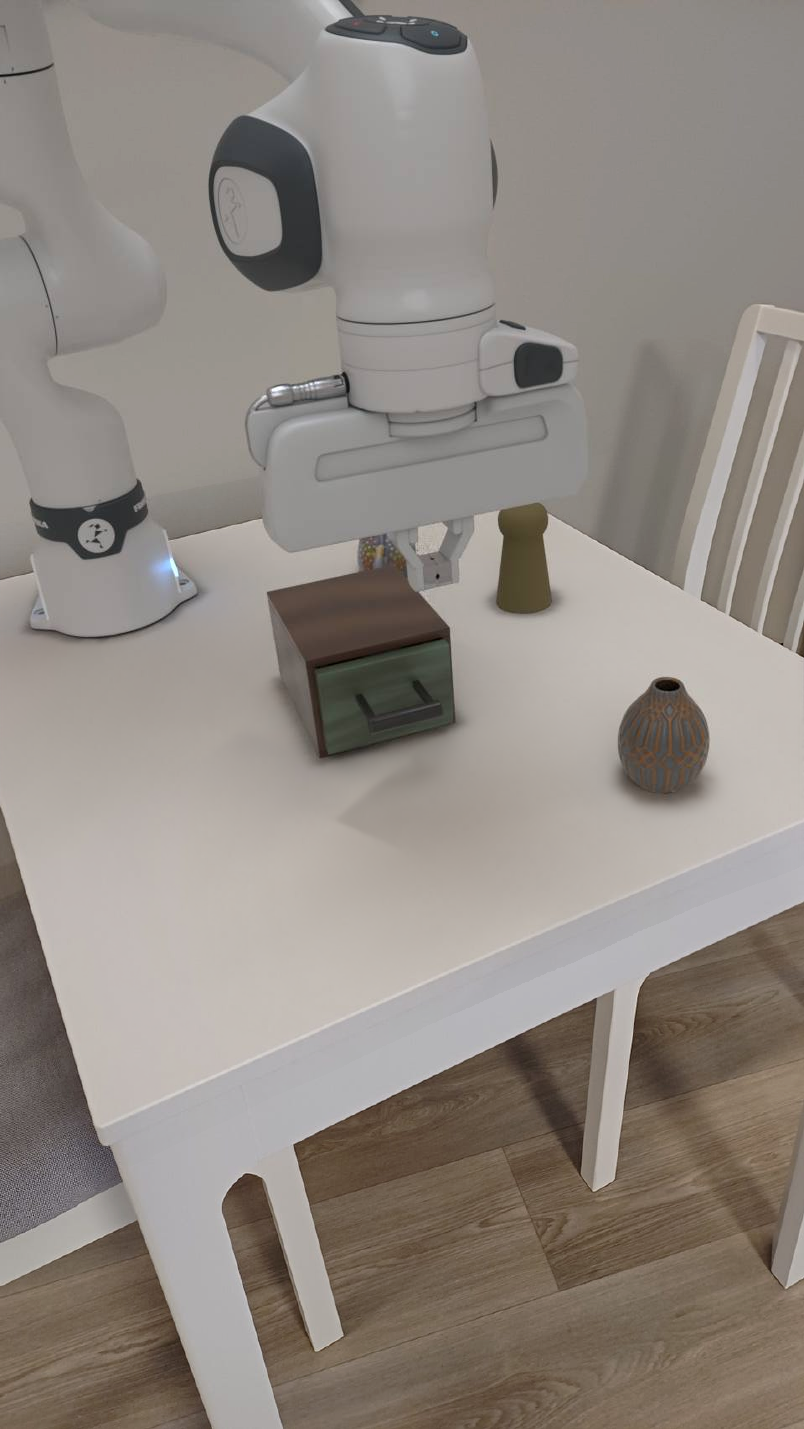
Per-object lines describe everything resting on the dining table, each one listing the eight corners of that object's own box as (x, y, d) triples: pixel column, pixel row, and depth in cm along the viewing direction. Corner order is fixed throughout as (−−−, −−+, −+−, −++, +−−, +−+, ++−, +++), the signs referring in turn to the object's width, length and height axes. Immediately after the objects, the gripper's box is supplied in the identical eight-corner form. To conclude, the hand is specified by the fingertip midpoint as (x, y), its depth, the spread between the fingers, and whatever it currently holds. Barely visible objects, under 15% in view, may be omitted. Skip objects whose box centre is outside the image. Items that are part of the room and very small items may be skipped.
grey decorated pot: (365, 560, 120) (359, 508, 116) (421, 560, 119) (417, 507, 115) (345, 605, 110) (338, 549, 107) (406, 605, 109) (401, 548, 105)
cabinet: (455, 723, 88) (450, 627, 83) (319, 758, 85) (305, 661, 80) (402, 651, 100) (394, 564, 95) (280, 680, 97) (266, 591, 92)
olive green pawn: (549, 614, 105) (550, 515, 99) (492, 612, 106) (489, 515, 100) (554, 589, 109) (554, 493, 104) (499, 588, 111) (496, 493, 105)
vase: (641, 744, 83) (647, 653, 79) (720, 771, 79) (731, 676, 75) (600, 785, 79) (603, 691, 74) (680, 816, 75) (689, 718, 70)
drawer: (477, 753, 82) (473, 672, 78) (346, 788, 80) (335, 706, 76) (403, 655, 98) (396, 583, 93) (291, 682, 95) (279, 608, 91)
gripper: (250, 404, 51) (288, 640, 59) (605, 345, 56) (598, 570, 63) (228, 378, 56) (265, 599, 64) (554, 326, 61) (553, 537, 68)
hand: (433, 584), depth 64 cm, fingers closed
